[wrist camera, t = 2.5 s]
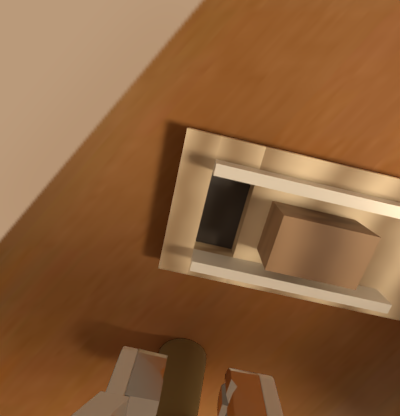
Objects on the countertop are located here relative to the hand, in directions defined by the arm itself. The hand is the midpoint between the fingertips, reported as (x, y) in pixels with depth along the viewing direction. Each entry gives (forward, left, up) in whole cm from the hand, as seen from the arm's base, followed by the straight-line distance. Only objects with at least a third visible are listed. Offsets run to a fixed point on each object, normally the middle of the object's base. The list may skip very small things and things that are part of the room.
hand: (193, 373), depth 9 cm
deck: (-14, 0, -19) cm, 24 cm away
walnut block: (-10, 0, -17) cm, 20 cm away
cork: (-2, +20, -19) cm, 28 cm away
